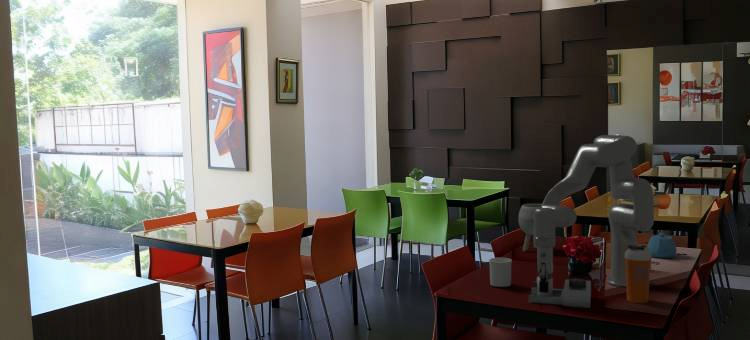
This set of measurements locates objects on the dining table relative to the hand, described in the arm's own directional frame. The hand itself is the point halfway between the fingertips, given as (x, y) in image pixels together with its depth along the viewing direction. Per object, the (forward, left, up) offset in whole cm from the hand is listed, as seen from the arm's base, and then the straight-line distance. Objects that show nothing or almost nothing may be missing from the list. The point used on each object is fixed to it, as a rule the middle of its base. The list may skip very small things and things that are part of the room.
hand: (544, 289), depth 241 cm
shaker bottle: (-32, -6, -4) cm, 33 cm away
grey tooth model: (+11, -83, -4) cm, 84 cm away
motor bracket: (-5, -1, -4) cm, 7 cm away
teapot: (-46, -82, -4) cm, 94 cm away
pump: (0, 0, -4) cm, 4 cm away
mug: (+18, -16, -4) cm, 24 cm away
